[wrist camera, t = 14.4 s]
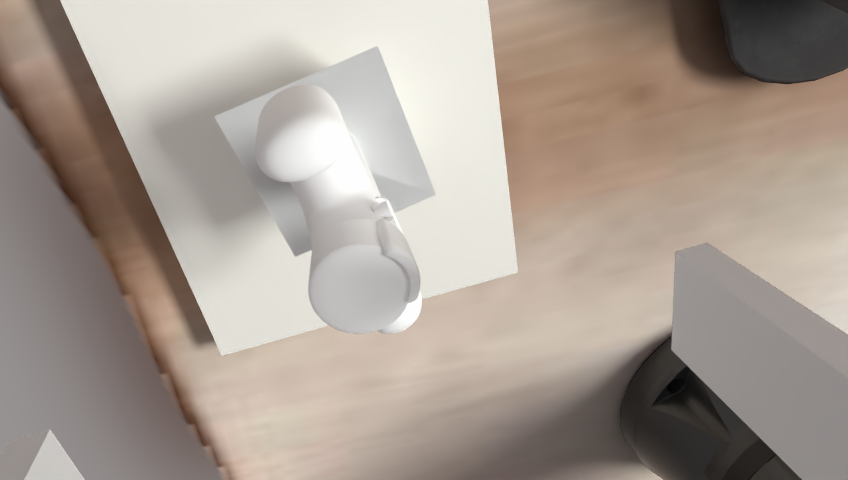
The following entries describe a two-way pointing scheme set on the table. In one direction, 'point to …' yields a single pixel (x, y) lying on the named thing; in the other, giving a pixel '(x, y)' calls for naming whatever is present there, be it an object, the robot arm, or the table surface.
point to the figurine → (340, 187)
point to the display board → (270, 70)
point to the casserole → (786, 38)
